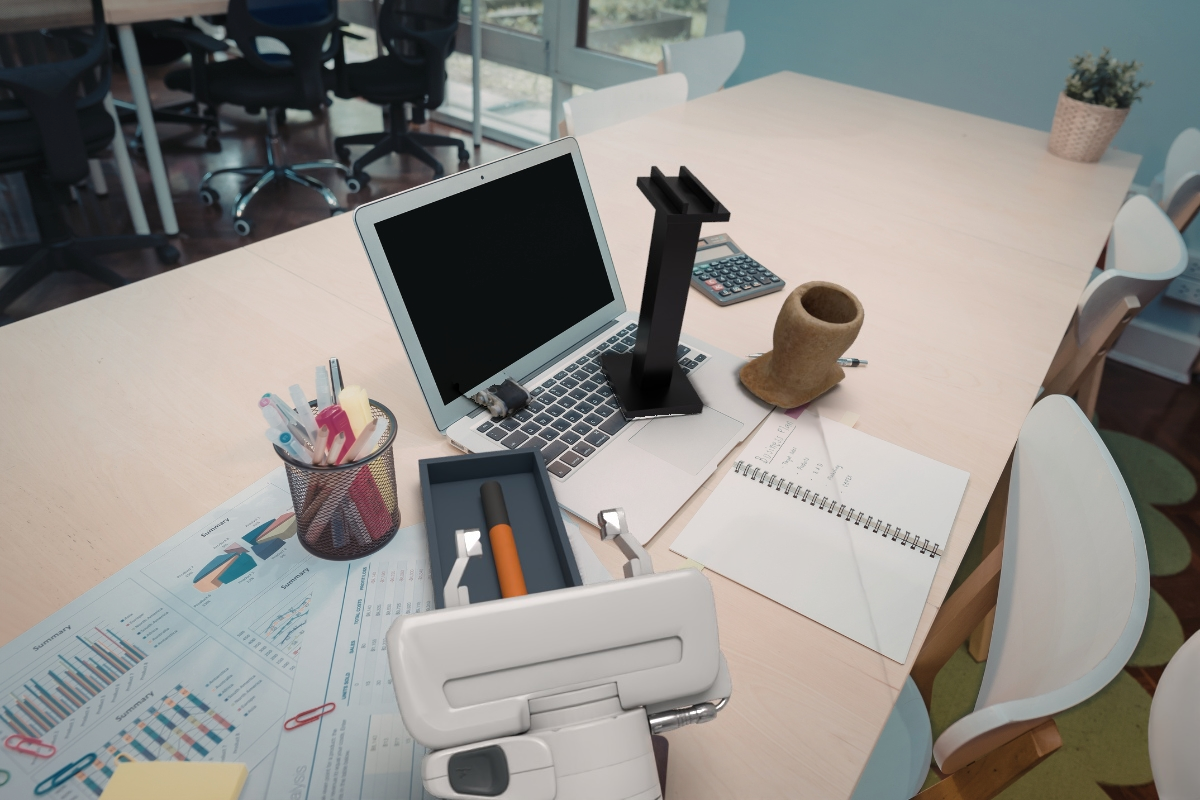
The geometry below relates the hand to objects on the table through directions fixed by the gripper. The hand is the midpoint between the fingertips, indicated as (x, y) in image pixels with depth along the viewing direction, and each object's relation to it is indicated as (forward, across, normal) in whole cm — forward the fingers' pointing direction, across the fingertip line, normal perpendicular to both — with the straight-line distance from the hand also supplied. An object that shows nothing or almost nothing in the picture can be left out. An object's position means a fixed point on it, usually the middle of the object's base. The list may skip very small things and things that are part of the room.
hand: (540, 520), depth 47 cm
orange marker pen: (+1, 0, +23) cm, 23 cm away
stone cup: (+20, -43, +35) cm, 59 cm away
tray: (+1, 0, +23) cm, 23 cm away
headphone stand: (+22, -23, +36) cm, 48 cm away
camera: (+23, -3, +37) cm, 44 cm away
